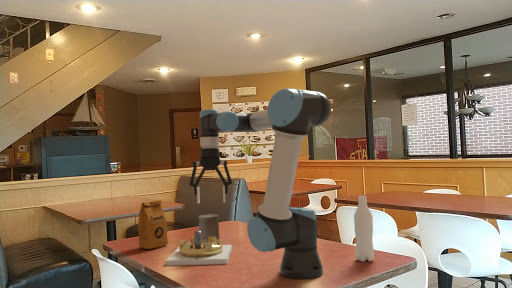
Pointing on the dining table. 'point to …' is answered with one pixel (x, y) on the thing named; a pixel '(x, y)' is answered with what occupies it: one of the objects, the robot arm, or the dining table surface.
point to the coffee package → (152, 226)
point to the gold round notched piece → (200, 246)
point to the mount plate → (200, 258)
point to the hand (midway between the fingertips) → (211, 202)
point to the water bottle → (363, 231)
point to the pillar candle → (209, 226)
